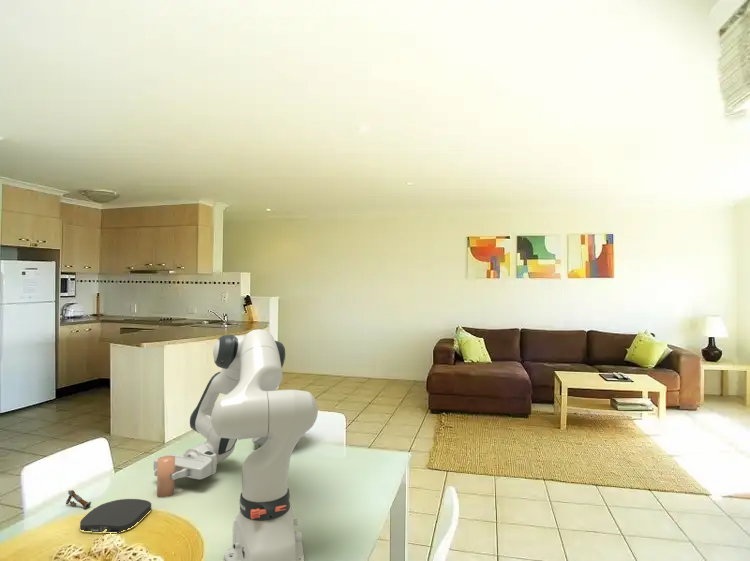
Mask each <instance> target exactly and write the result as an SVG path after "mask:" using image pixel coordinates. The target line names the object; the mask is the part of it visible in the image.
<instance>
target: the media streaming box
mask: <svg viewBox="0 0 750 561" xmlns="http://www.w3.org/2000/svg"><path fill="white" fill-rule="evenodd" d="M150 510H151V511H152V502H151V501H149V500H145V499H140V498H121V499H116V500H111V501H107V502H105V503H102V504H99V506H96V507H95V508H93V509H92V510H91V511H89V512H88V513H87V514H85V516H84V517H83V518H82V519H81V520H80V522H79V526H80V527H79V530H80V529H81V530H84V531H92V532H103V531H104V530H105V529H107V531H106V532H117V533H119V532H121V531H123V530H127V529H128V528H131V527H132V526H134V525H135V524H136V523H137V522H139V521H140V520H141V519H142V518H143V517H144V516H145V515H146V514H147V513H148V512H149V511H150ZM119 534H120V533H119Z"/></svg>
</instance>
